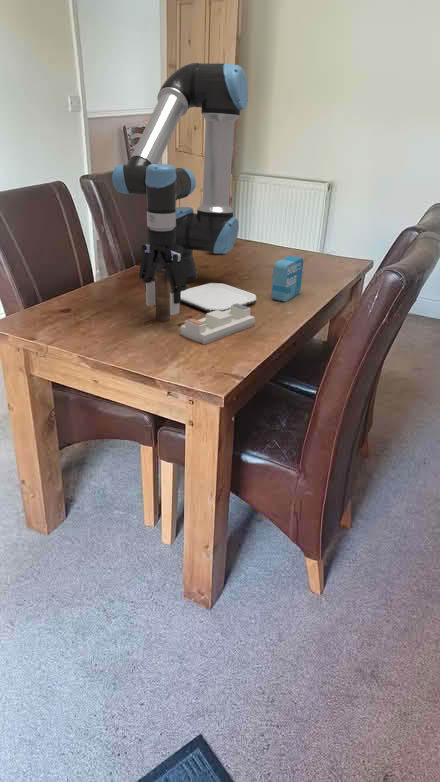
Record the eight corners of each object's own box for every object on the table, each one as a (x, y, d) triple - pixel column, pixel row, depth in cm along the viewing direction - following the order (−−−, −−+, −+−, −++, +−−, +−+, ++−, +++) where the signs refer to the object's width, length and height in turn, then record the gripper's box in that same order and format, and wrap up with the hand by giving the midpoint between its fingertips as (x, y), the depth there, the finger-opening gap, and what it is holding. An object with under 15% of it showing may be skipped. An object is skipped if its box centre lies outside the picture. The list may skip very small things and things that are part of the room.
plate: (216, 287, 189) (216, 280, 188) (262, 303, 176) (263, 296, 175) (169, 300, 176) (169, 293, 175) (215, 318, 163) (215, 311, 162)
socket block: (180, 334, 151) (180, 317, 149) (230, 316, 164) (231, 301, 162) (204, 344, 145) (204, 327, 143) (254, 325, 159) (255, 309, 156)
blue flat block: (283, 303, 176) (286, 265, 171) (270, 300, 178) (273, 262, 173) (300, 293, 185) (304, 257, 180) (288, 290, 187) (291, 254, 182)
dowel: (152, 319, 160) (151, 270, 154) (163, 315, 163) (162, 268, 156) (162, 323, 158) (161, 274, 151) (172, 319, 160) (172, 271, 154)
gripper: (123, 222, 152) (127, 302, 163) (179, 237, 139) (179, 323, 150) (145, 219, 157) (147, 296, 168) (201, 233, 144) (199, 316, 155)
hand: (162, 309), depth 159 cm, fingers open, 9 cm apart
